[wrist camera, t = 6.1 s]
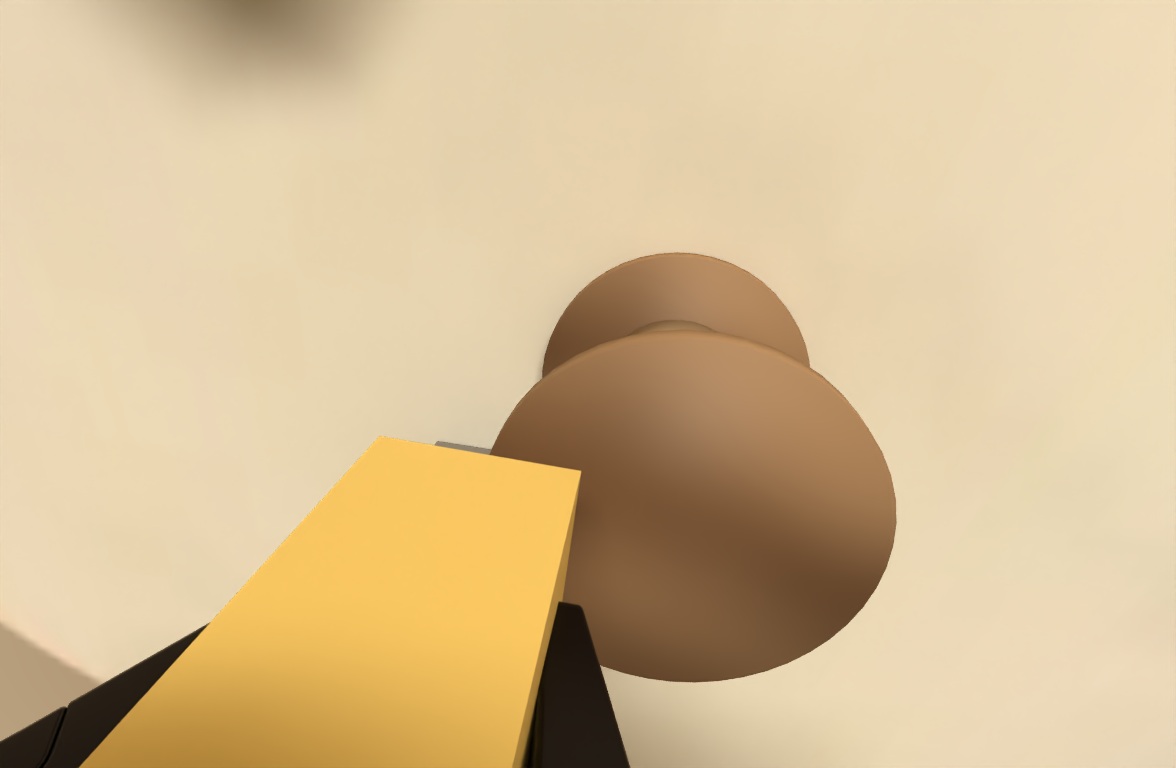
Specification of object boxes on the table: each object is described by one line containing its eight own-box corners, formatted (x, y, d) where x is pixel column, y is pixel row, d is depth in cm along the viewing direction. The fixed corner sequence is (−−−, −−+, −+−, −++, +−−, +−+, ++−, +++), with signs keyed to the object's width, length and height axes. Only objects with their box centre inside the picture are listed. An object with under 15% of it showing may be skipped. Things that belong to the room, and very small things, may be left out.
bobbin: (771, 507, 20) (828, 710, 13) (536, 470, 20) (472, 647, 14) (838, 272, 17) (962, 377, 10) (557, 235, 17) (486, 310, 10)
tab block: (553, 657, 11) (425, 1284, 5) (382, 625, 11) (65, 1192, 5) (581, 470, 9) (439, 1076, 3) (379, 435, 9) (-93, 955, 4)
